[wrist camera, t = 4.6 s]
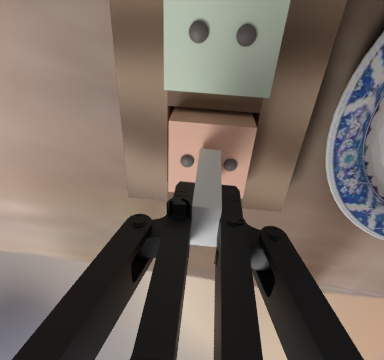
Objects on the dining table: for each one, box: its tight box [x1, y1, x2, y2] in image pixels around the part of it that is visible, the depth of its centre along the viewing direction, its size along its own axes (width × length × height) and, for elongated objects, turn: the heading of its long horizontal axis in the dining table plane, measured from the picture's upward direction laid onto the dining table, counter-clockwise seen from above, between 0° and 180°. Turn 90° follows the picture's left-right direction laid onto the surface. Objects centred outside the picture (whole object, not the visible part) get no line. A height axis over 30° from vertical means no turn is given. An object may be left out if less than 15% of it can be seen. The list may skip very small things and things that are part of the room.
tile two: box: [163, 0, 290, 98], centre depth 15 cm, size 6×6×4 cm
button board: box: [109, 0, 348, 212], centre depth 18 cm, size 28×14×3 cm, turn 177°
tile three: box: [168, 106, 257, 199], centre depth 21 cm, size 6×6×4 cm
